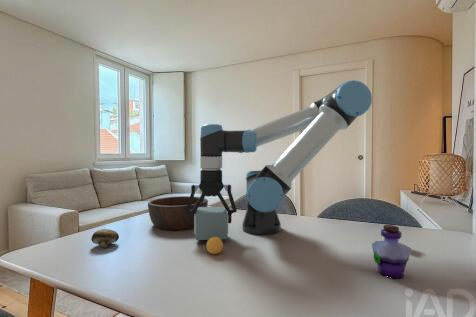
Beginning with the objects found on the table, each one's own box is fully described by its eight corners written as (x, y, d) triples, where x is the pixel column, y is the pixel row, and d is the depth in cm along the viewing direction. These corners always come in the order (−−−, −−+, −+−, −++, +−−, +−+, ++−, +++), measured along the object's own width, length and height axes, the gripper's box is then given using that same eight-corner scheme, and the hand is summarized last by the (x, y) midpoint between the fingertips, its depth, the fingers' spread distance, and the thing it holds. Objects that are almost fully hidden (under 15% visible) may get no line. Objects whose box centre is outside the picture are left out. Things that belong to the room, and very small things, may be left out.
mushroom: (105, 242, 82) (106, 223, 85) (84, 250, 83) (86, 231, 87) (123, 247, 88) (123, 229, 92) (104, 254, 90) (105, 236, 93)
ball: (222, 250, 83) (222, 234, 83) (224, 256, 78) (223, 239, 78) (206, 251, 83) (206, 235, 82) (206, 257, 78) (206, 240, 78)
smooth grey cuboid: (224, 230, 99) (224, 206, 99) (227, 239, 89) (227, 212, 89) (196, 231, 98) (196, 207, 98) (196, 240, 88) (196, 213, 88)
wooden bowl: (203, 232, 102) (203, 206, 102) (138, 233, 103) (138, 206, 103) (211, 217, 127) (210, 195, 127) (158, 217, 128) (158, 196, 128)
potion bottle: (363, 270, 68) (363, 223, 68) (387, 264, 72) (387, 219, 72) (395, 285, 60) (395, 232, 60) (420, 278, 64) (420, 228, 64)
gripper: (242, 168, 98) (242, 228, 98) (178, 168, 95) (178, 231, 96) (245, 169, 91) (245, 235, 91) (176, 170, 88) (176, 237, 88)
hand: (211, 233), depth 93 cm, fingers closed on smooth grey cuboid, 10 cm apart
